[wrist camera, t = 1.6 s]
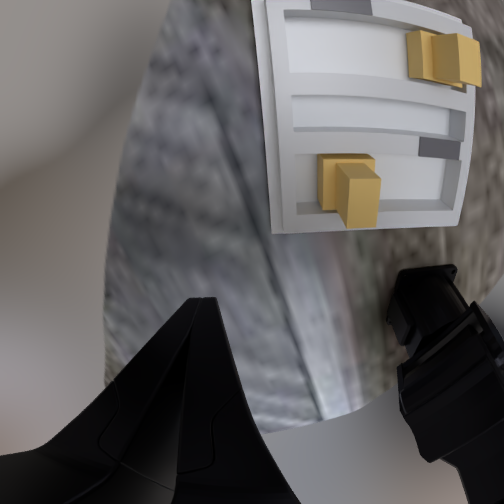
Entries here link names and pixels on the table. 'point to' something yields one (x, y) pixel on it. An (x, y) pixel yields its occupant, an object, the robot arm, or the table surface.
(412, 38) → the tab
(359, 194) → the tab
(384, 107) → the switch bank
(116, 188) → the table surface
